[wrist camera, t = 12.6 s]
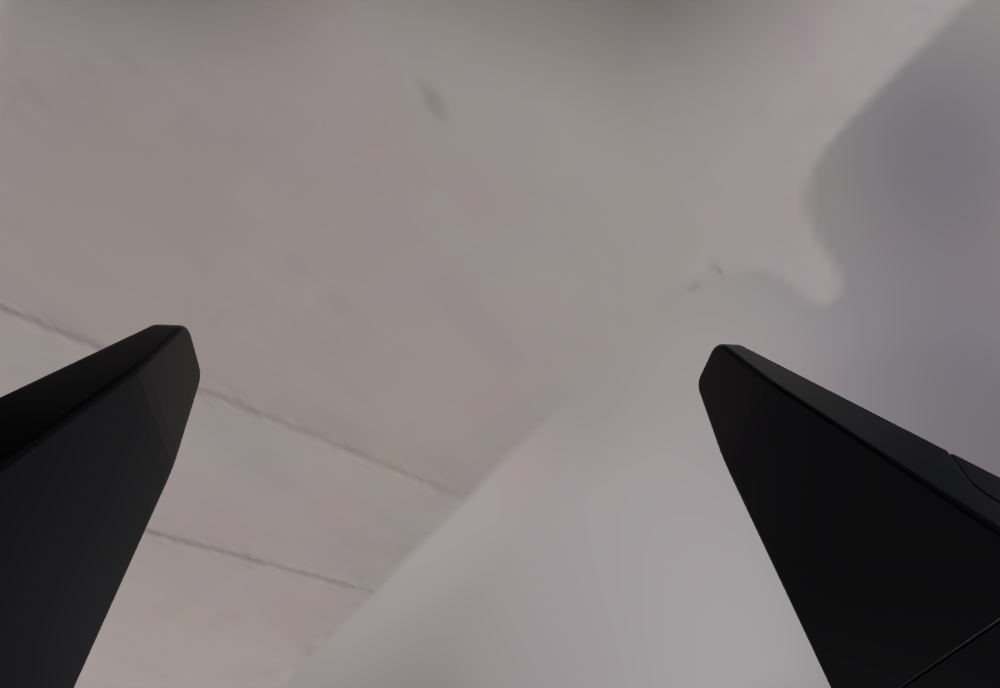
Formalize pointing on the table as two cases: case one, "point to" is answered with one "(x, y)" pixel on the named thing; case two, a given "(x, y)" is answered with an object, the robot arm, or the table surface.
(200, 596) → the table surface
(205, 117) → the table surface
